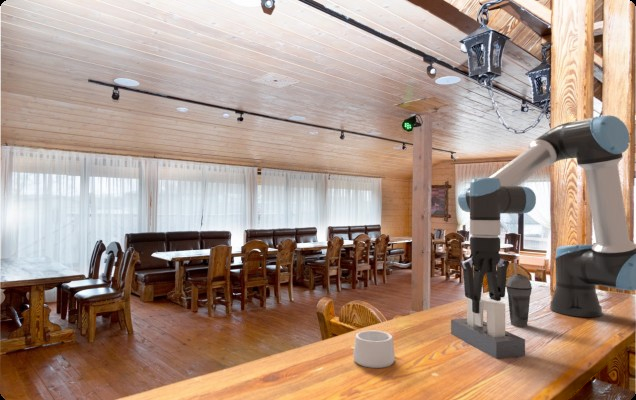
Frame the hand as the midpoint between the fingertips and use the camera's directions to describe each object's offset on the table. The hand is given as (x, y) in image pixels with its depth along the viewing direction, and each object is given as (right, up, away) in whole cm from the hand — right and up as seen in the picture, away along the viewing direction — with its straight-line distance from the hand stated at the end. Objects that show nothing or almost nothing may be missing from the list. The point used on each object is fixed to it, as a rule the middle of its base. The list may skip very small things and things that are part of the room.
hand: (485, 324), depth 110 cm
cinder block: (0, -5, 0) cm, 5 cm away
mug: (-30, -5, -11) cm, 33 cm away
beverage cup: (+17, -5, +17) cm, 25 cm away
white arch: (0, -4, 0) cm, 4 cm away
